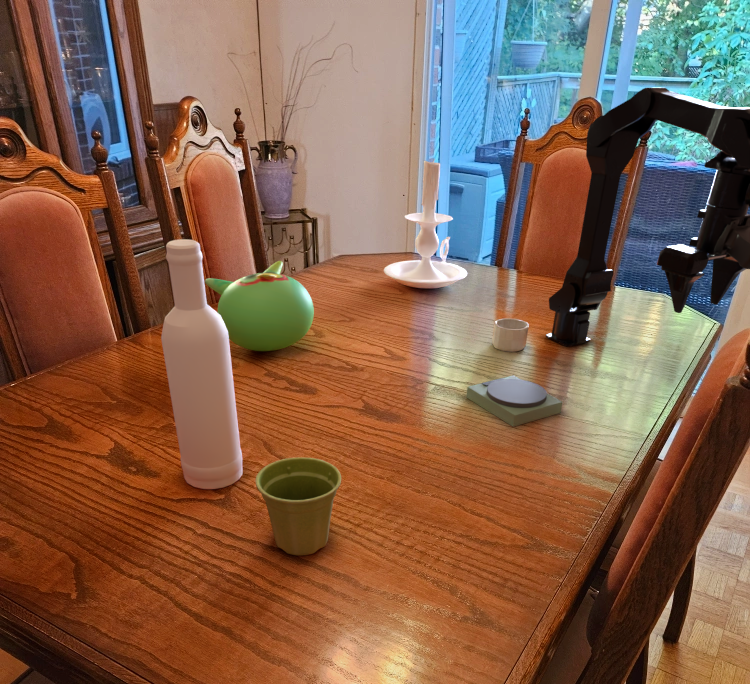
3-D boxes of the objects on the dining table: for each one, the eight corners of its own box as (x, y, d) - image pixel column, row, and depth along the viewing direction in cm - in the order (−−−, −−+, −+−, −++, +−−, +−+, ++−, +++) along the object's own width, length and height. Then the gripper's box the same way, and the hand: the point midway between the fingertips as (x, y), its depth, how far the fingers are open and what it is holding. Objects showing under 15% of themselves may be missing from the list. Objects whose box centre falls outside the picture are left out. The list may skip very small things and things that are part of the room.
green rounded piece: (241, 370, 119) (232, 288, 111) (207, 340, 131) (198, 264, 122) (329, 352, 127) (327, 274, 119) (290, 325, 139) (286, 253, 131)
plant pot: (263, 518, 82) (258, 457, 77) (340, 516, 82) (339, 455, 77) (259, 567, 74) (252, 502, 69) (343, 564, 75) (343, 500, 70)
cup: (485, 343, 132) (487, 321, 130) (510, 338, 135) (513, 316, 133) (506, 354, 128) (509, 331, 125) (532, 348, 131) (536, 326, 128)
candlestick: (483, 276, 173) (496, 155, 157) (447, 301, 154) (458, 168, 139) (411, 265, 180) (416, 149, 165) (369, 288, 162) (370, 160, 146)
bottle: (176, 467, 91) (137, 238, 74) (232, 454, 94) (206, 231, 78) (194, 496, 85) (155, 254, 68) (252, 481, 89) (229, 247, 72)
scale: (466, 397, 111) (467, 382, 110) (511, 385, 116) (514, 370, 114) (513, 426, 103) (515, 410, 101) (560, 412, 107) (563, 397, 106)
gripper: (737, 222, 90) (701, 333, 99) (815, 210, 98) (776, 314, 107) (669, 206, 97) (642, 311, 106) (747, 197, 106) (715, 294, 114)
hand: (696, 308), depth 108 cm, fingers open, 9 cm apart
